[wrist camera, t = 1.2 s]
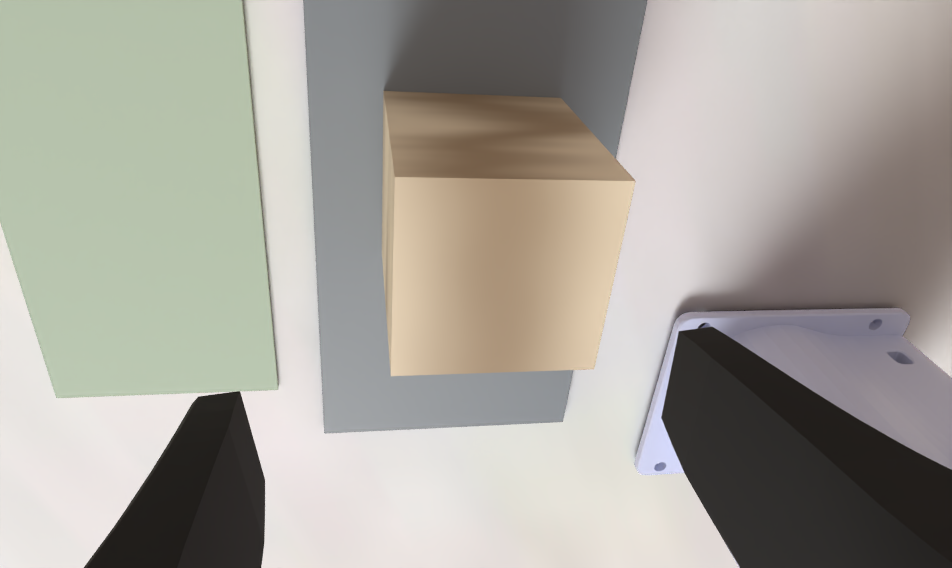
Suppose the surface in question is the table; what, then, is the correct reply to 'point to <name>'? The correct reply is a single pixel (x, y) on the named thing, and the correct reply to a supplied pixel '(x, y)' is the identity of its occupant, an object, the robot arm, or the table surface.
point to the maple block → (496, 233)
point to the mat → (135, 195)
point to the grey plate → (361, 173)
